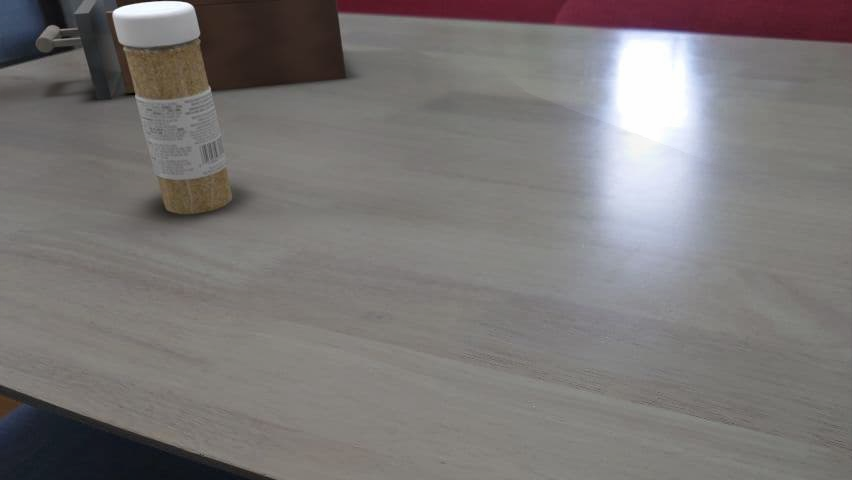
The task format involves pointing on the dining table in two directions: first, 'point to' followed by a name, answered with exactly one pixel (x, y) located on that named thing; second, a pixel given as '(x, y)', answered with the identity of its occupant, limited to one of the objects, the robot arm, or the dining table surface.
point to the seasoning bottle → (175, 104)
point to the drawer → (95, 45)
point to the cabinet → (268, 42)
